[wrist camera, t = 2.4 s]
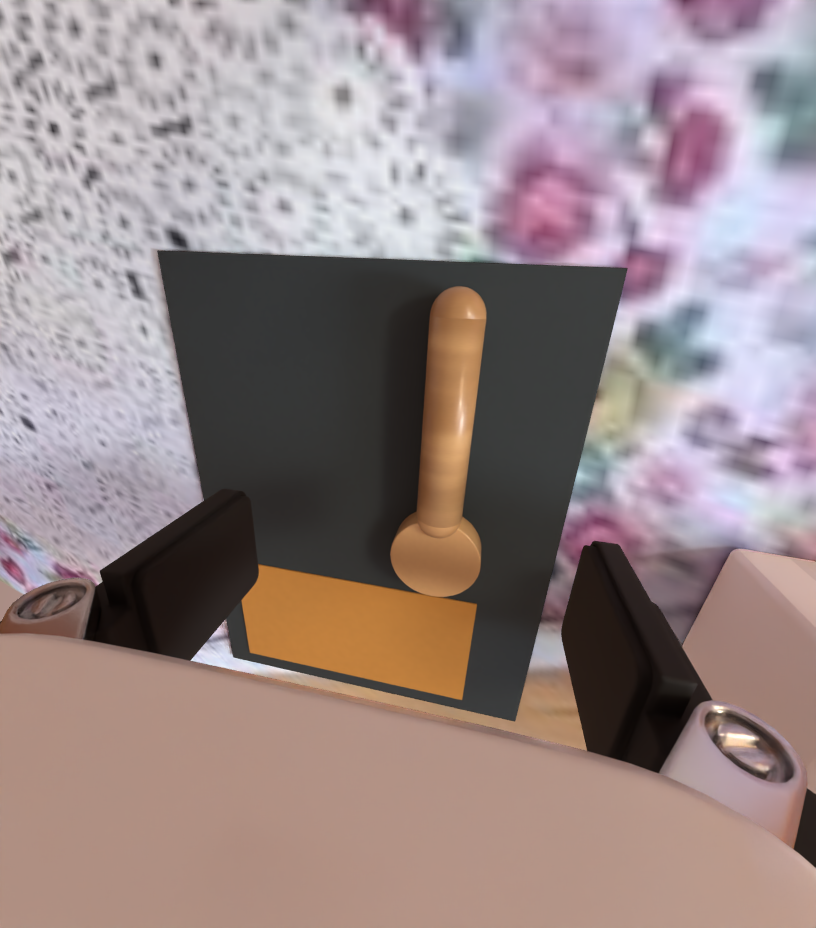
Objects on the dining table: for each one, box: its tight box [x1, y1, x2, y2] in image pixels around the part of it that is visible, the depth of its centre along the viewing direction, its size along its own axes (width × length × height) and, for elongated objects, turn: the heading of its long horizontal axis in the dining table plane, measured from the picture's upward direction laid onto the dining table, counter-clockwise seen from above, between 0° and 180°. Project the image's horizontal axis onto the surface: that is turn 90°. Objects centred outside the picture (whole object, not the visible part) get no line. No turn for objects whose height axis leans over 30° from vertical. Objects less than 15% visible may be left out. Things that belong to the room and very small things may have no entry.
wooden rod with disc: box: [390, 286, 487, 597], centre depth 18 cm, size 15×5×2 cm, turn 177°
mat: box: [157, 251, 627, 721], centre depth 21 cm, size 26×20×1 cm
